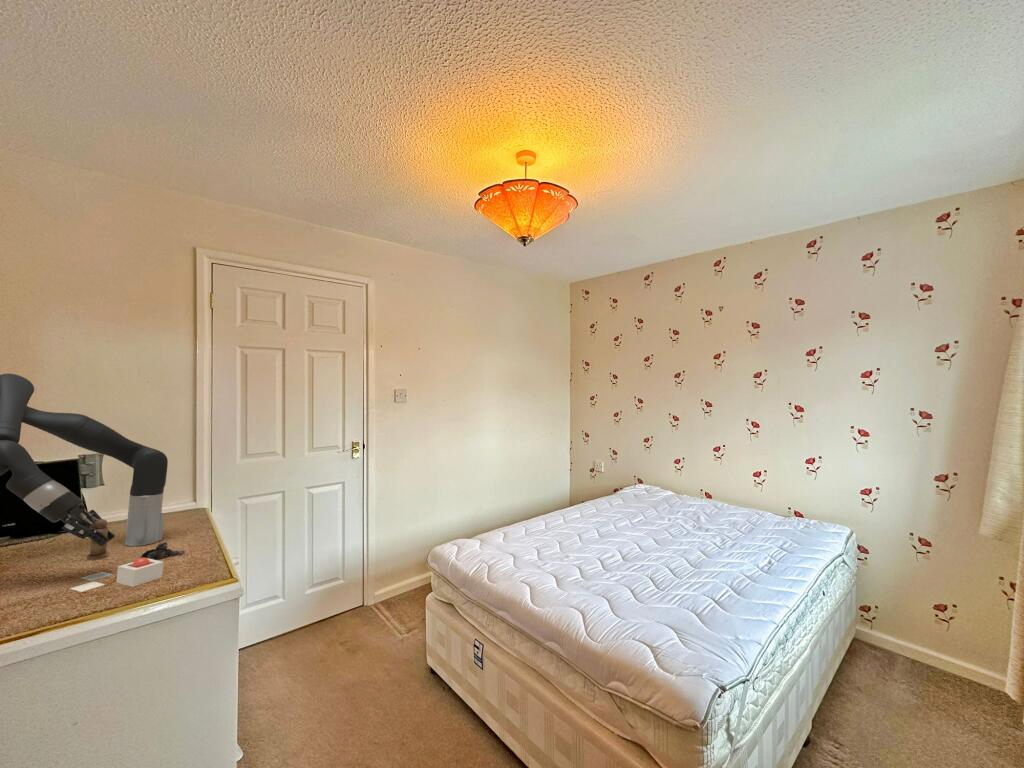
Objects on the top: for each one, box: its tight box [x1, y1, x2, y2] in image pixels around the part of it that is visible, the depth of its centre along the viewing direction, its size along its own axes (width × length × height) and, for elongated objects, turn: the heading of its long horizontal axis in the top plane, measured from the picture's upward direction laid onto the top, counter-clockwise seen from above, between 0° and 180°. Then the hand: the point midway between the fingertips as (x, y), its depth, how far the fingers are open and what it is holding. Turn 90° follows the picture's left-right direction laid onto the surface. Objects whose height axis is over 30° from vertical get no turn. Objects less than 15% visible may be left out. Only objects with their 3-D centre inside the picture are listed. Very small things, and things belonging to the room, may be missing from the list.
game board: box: [69, 571, 114, 593], centre depth 115 cm, size 14×20×1 cm
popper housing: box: [116, 558, 164, 588], centre depth 117 cm, size 7×7×4 cm
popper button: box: [132, 557, 151, 568], centre depth 117 cm, size 4×4×5 cm
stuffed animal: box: [139, 541, 186, 561], centre depth 134 cm, size 12×10×12 cm
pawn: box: [86, 518, 110, 561], centre depth 118 cm, size 4×4×11 cm
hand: (108, 540), depth 119 cm, fingers closed on pawn, 3 cm apart
